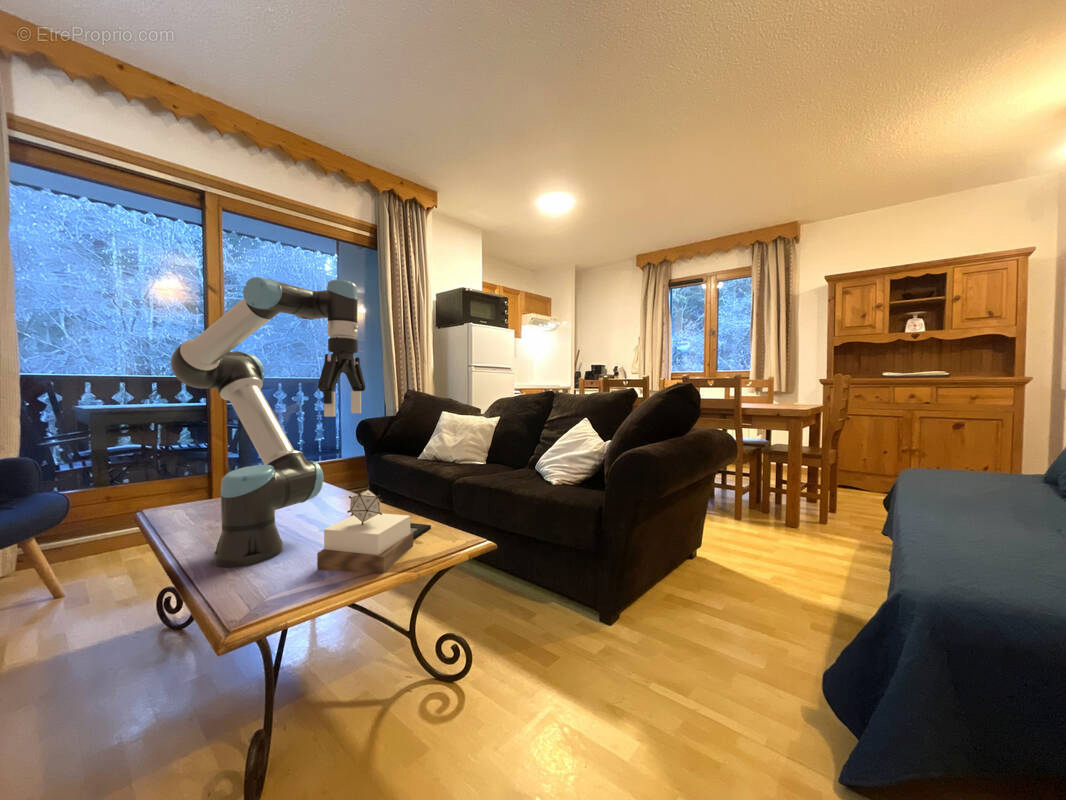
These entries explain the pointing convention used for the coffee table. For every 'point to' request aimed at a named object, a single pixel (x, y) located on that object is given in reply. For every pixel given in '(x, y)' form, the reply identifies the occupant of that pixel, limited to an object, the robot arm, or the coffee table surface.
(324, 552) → the walnut slab
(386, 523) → the cream slab
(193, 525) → the coffee table surface
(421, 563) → the coffee table surface
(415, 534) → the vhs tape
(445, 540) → the coffee table surface
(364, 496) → the game die
